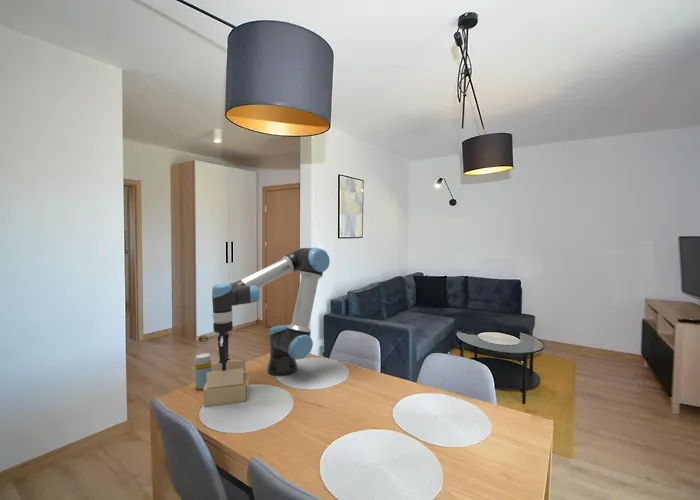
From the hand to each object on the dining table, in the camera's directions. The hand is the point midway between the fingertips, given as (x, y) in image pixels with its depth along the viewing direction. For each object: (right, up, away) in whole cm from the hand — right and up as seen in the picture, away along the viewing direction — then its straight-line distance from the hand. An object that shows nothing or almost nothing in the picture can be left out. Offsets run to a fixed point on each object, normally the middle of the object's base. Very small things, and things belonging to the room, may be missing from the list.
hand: (224, 377), depth 141 cm
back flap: (-2, 0, +11) cm, 11 cm away
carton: (-1, -11, +5) cm, 12 cm away
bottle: (-15, -11, +15) cm, 24 cm away
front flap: (+1, 0, -1) cm, 1 cm away
